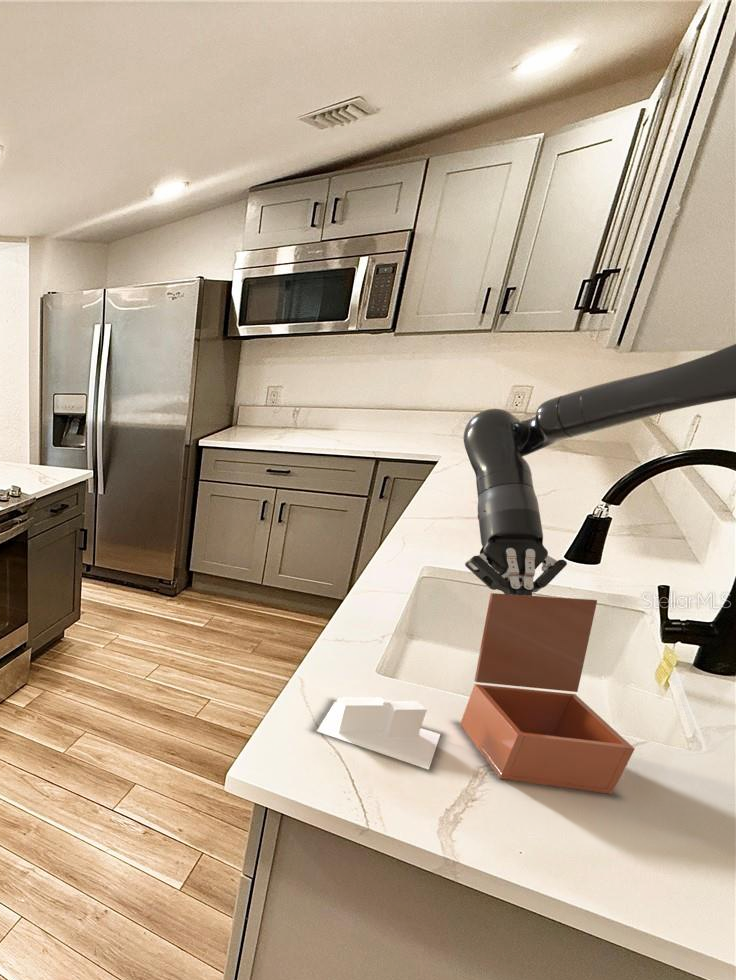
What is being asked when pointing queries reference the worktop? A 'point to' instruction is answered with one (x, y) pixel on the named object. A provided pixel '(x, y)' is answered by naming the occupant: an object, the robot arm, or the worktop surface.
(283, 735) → the worktop surface
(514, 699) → the reddish brown box
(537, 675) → the lid
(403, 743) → the napkin holder
